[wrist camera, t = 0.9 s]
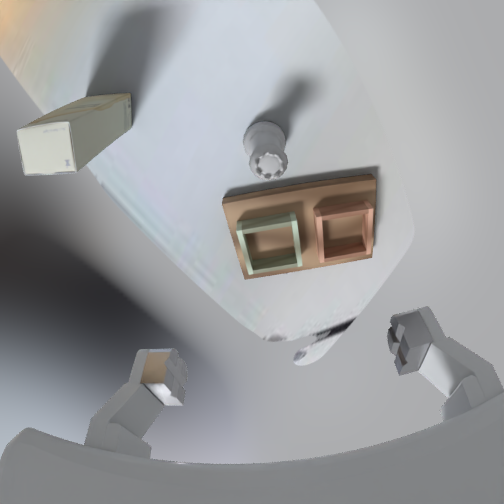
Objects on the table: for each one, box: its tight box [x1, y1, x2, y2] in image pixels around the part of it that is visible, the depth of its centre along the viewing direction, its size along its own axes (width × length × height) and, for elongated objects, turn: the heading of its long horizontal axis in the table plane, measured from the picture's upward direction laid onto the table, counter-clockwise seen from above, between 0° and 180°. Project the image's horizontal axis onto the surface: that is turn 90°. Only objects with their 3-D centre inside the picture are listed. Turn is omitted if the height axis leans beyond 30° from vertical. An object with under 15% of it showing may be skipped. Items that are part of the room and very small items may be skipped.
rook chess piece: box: [243, 121, 288, 181], centre depth 26 cm, size 4×4×8 cm
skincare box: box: [17, 93, 132, 176], centre depth 21 cm, size 6×4×12 cm
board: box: [222, 174, 376, 279], centre depth 35 cm, size 12×18×4 cm, turn 102°
